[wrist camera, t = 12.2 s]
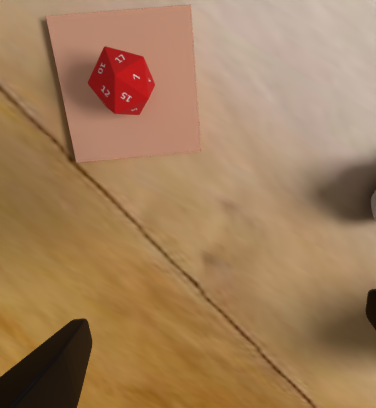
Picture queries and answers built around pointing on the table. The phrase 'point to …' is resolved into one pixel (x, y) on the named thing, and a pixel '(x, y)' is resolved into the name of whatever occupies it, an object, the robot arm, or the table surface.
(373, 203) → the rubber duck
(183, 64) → the terracotta tile
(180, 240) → the table surface
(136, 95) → the die
